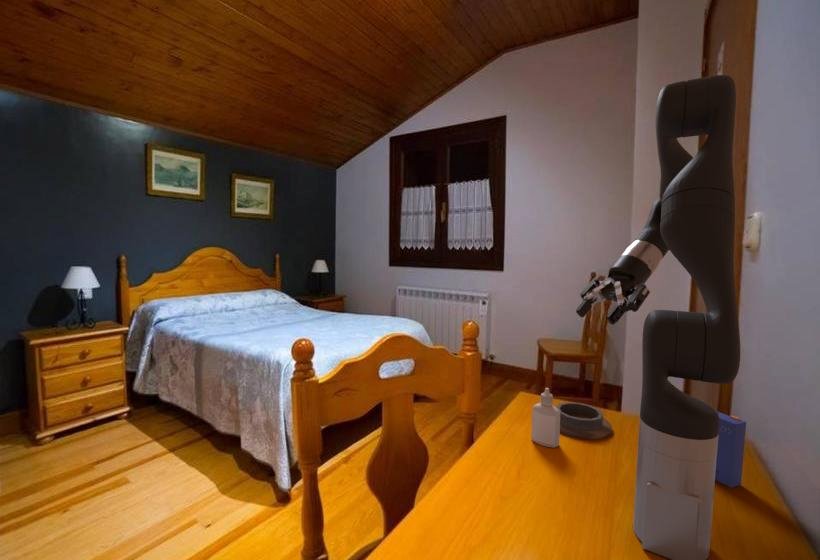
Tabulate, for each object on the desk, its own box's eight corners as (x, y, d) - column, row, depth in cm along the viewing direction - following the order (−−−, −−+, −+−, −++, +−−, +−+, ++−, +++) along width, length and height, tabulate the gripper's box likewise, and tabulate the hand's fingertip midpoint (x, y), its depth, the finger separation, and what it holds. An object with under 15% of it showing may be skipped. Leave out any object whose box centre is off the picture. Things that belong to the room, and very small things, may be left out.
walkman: (741, 485, 70) (746, 420, 69) (730, 488, 70) (736, 422, 68) (696, 462, 78) (700, 403, 77) (686, 464, 77) (690, 405, 76)
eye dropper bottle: (545, 450, 82) (547, 394, 81) (528, 438, 87) (530, 385, 86) (562, 447, 83) (564, 391, 82) (544, 435, 89) (546, 382, 87)
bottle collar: (606, 446, 84) (606, 430, 83) (539, 428, 92) (540, 413, 91) (615, 422, 95) (616, 408, 95) (555, 408, 103) (556, 395, 103)
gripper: (601, 252, 95) (561, 302, 92) (656, 254, 82) (611, 312, 79) (617, 274, 97) (578, 323, 95) (673, 279, 84) (629, 336, 81)
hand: (593, 318), depth 87 cm, fingers open, 8 cm apart
